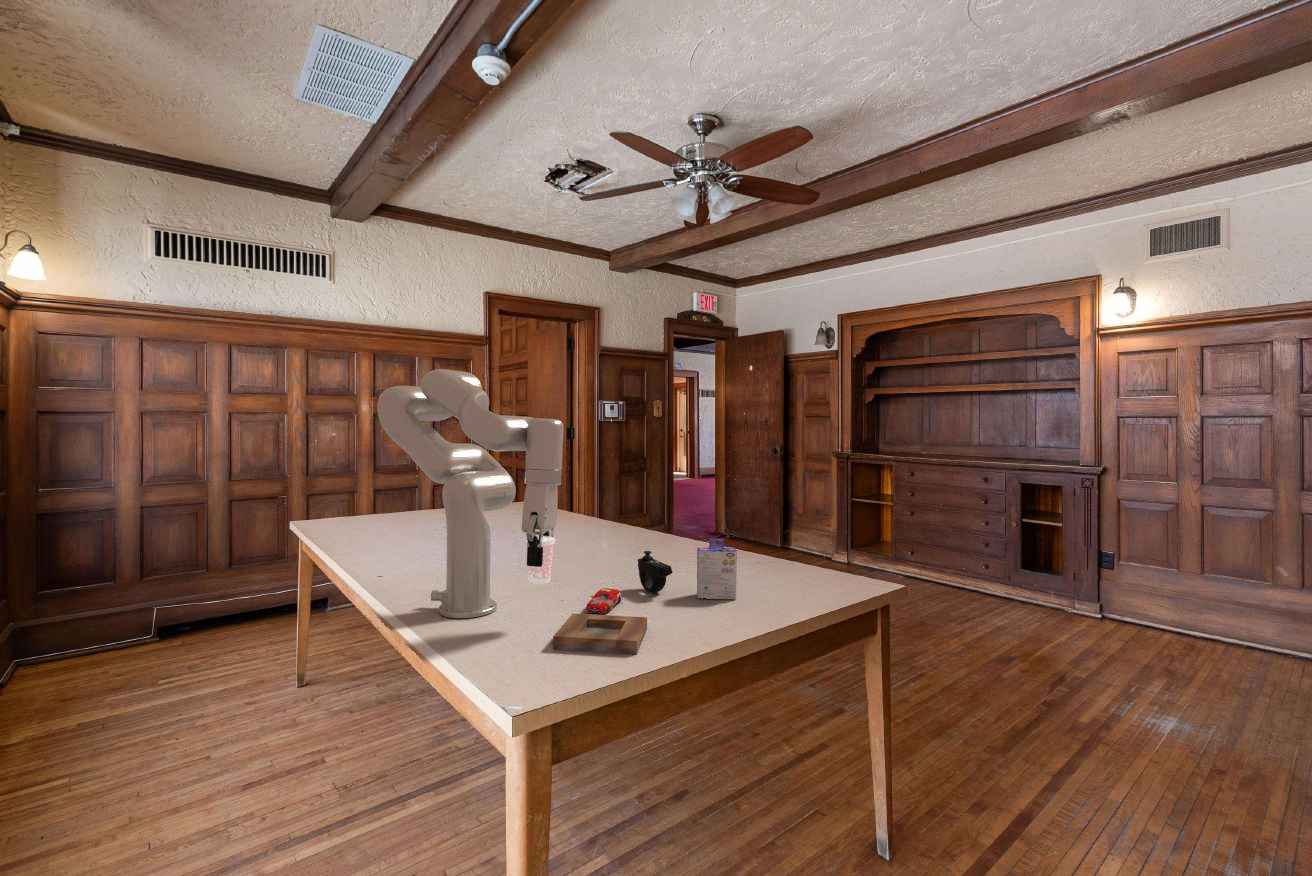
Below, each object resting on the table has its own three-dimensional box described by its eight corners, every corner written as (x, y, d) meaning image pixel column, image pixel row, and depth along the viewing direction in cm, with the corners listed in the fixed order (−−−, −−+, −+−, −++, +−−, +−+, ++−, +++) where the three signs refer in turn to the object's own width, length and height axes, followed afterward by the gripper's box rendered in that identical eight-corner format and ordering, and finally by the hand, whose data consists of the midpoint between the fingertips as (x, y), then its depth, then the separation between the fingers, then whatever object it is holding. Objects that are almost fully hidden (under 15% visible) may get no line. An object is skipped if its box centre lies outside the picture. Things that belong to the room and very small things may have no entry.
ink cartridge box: (734, 594, 150) (735, 537, 150) (737, 600, 145) (738, 541, 145) (696, 593, 150) (697, 537, 150) (697, 599, 145) (698, 541, 145)
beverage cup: (544, 586, 120) (547, 518, 119) (518, 582, 122) (521, 515, 121) (558, 579, 125) (561, 514, 125) (533, 575, 127) (536, 511, 127)
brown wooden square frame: (553, 649, 110) (553, 636, 110) (572, 625, 124) (572, 613, 124) (636, 654, 109) (637, 640, 109) (647, 629, 122) (647, 617, 122)
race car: (604, 618, 131) (605, 600, 130) (582, 615, 132) (582, 597, 132) (624, 601, 143) (625, 585, 143) (604, 599, 145) (604, 583, 145)
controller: (648, 586, 157) (649, 548, 157) (674, 597, 146) (674, 557, 146) (634, 588, 155) (635, 550, 154) (659, 599, 144) (660, 559, 144)
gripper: (539, 472, 132) (535, 552, 132) (511, 480, 115) (507, 571, 115) (571, 474, 131) (567, 554, 131) (548, 482, 114) (544, 574, 114)
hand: (539, 561), depth 123 cm, fingers closed on beverage cup, 6 cm apart
